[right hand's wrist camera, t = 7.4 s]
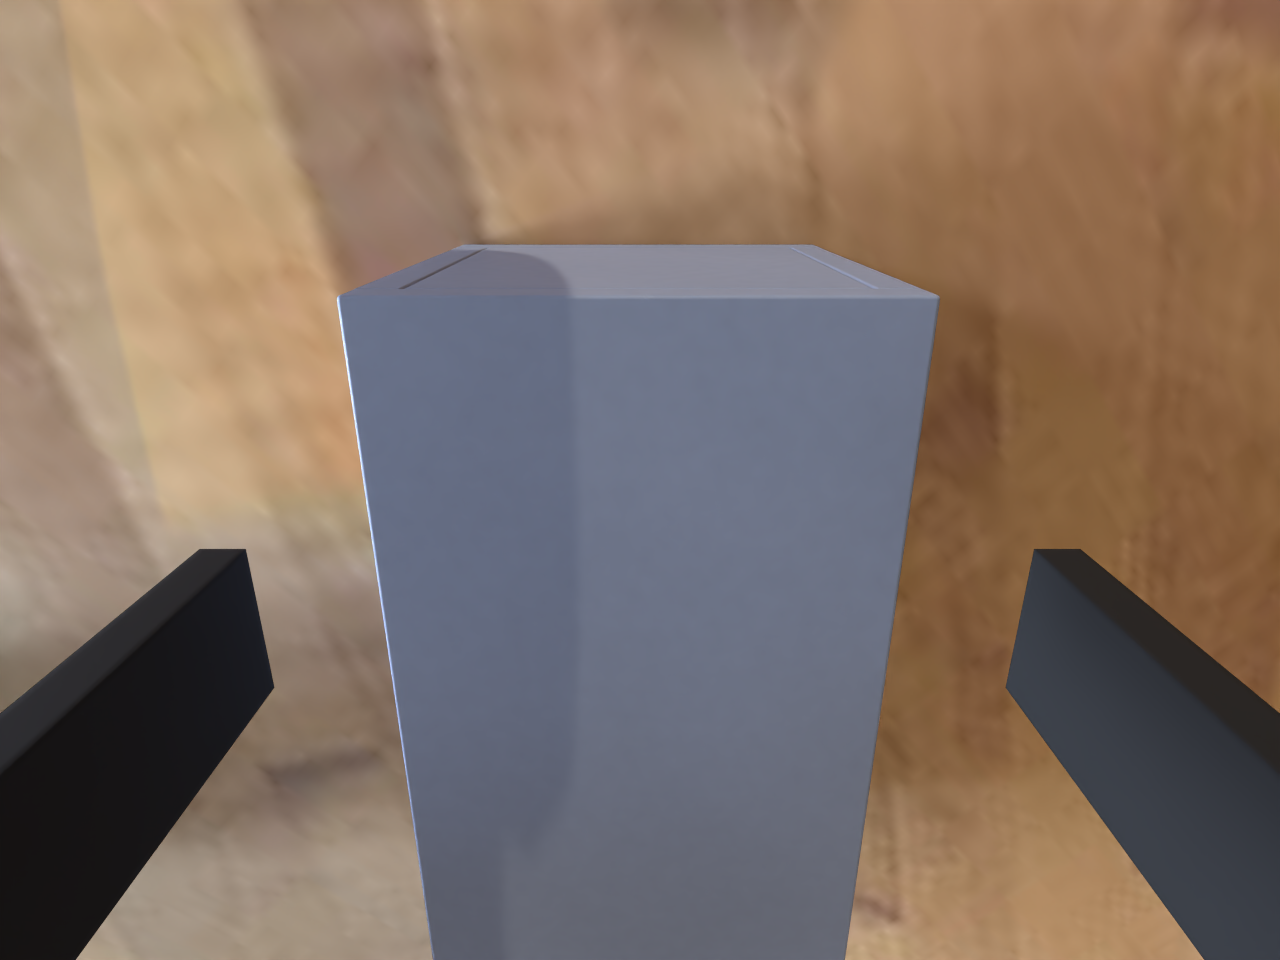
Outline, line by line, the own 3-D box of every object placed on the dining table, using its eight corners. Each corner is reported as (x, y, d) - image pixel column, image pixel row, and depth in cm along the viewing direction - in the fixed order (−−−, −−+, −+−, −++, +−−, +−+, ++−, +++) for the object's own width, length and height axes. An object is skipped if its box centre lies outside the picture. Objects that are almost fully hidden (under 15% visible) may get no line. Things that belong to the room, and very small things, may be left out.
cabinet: (772, 753, 30) (836, 1026, 20) (504, 754, 30) (441, 1027, 20) (814, 244, 23) (941, 295, 13) (462, 244, 23) (334, 296, 13)
